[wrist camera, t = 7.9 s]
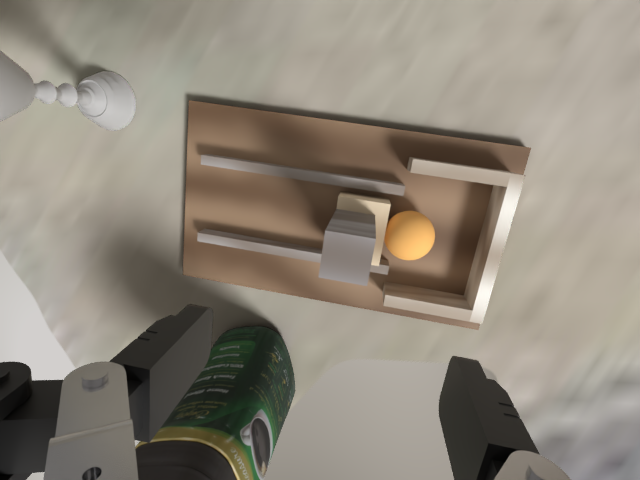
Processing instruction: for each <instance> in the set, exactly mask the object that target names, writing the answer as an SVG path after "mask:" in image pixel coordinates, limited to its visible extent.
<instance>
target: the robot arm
mask: <svg viewBox="0 0 640 480" xmlns="http://www.w3.org/2000/svg"><path fill="white" fill-rule="evenodd" d="M212 323H213V311H212V309H211V308H208V307H203V306H197V305H192V304H189V305H187V306H186V307H185V308H184V309H183V310H182V311H181V312H180V313H179V314H177V315H176V316H172V315H170V316H168V317H165V318H163V319H161V320H158V321H156V322H155V323H154V324H153V325H151V326H150V327H149V328H148V329H147V330H146V332H143V333H142V334H141V335H140V336H139V337H138V339H135V340H134V341H133V342H132V343H130V344H129V345H128V346H127V347H126V348H125V349H123V350H122V351H121V352H120V353H119V354H117V355H116V356H115V357H114V358H113V359H112V360H110V361H109V362H95V363H90V364H87V365H84V366H81V367H79V368H77V369H75V370H74V371H72V372H71V373H70V374H68V375H67V376H66V377H65V379H64V380H38V381H32V378H31V369H30V368H29V366H27V365H26V364H23V363H20V362H2V363H0V480H26V479H27V478H28V477H29V476H30V475H31V474H32V473H35V472H45V473H44V480H138V470H137V460H136V451H135V441H134V440H138V441H143V442H147V443H150V442H151V440H152V439H153V437H154V436H155V435H156V433H157V432H158V431H159V429H160V428H161V426H162V425H163V424H164V422H165V421H166V420H167V418H168V417H169V416H170V414H171V413H172V411H173V410H174V409H175V407H176V406H177V405H178V403H179V402H180V400H181V399H182V398H183V396H184V395H185V394H186V392H187V391H188V389H189V388H190V387H191V385H192V384H193V383H194V381H195V380H196V378H197V377H198V376H199V374H200V373H201V372H202V370H203V369H204V367H205V366H206V364H207V362H208V359H209V356H210V352H211V340H212ZM439 417H440V421H441V425H442V430H443V434H444V438H445V442H446V446H447V451H448V455H449V459H450V463H451V467H452V472H453V476H454V480H571V479H570V478H569V476H568V475H567V474H566V473H565V472H564V471H563V470H562V469H561V468H560V467H559V466H557V465H556V464H555V463H553V462H552V461H550V460H549V459H547V458H545V457H543V456H541V455H540V454H539V452H538V450H537V448H536V446H535V445H534V443H533V441H532V439H531V437H530V435H529V433H528V431H527V429H526V428H525V426H524V424H523V422H522V420H521V419H520V418H519V417H520V416H519V414H518V412H517V410H516V409H515V408H514V405H513V403H512V401H511V399H510V397H509V395H508V393H507V392H506V391H505V390H504V389H503V388H502V387H501V386H500V385H499V384H498V383H497V382H496V381H495V380H491V379H487V378H486V376H485V374H484V372H483V369H482V367H481V365H480V363H479V361H477V360H473V359H468V358H462V357H457V356H452V358H451V360H450V362H449V366H448V370H447V373H446V377H445V380H444V384H443V388H442V391H441V395H440V400H439Z"/></svg>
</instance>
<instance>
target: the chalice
mask: <svg viewBox="0 0 640 480" xmlns="http://www.w3.org/2000/svg"><path fill="white" fill-rule="evenodd" d="M34 97H35V98H37V99H39V100H40V101H42V102H43V103H45V104H50V103H53V102H54V101H55V100H58V101H59V102H60V104H62V105H63V106H65V107H72V106H74V105H75V104H76V103H77V105H78V108H79V109H80V111H81V112H82V114H83V115H84V116H85V117H87V118H88V119H90V120H91V121H93V122H94V123H96V124H97V125H99V126H100V127H102V128H104V129H106V130H114V131H116V130H119V129H123V128H124V127H126V126H127V125H128V124H129V123H130V122H131V120H132V119H133V117H134V114H135V110H136V100H135V96H134V93H133V90H132V88H131V87H130V85H129V83H128V82H127V81H126V80H125V79H124V78H123V77H122V76H120V75H118V74H116V73H114V72H110V71H102V72H99V73H96V74H94V75H91V76H89V77H86V78H84V79H83V80H82V81H81V82H80V83H79V85H78V87H77V89H76V90H75V88H74V87H73V86H72V85H70V84H68V83H63V84H61V85H60V86H59V87H58V88H57V87H55V86H54V85H53V84H52V83H51V82H49V81H41V82H40V83H37V84H34V83H33V80H32V78H31V77H30V75H29V74H28V73H27V72H26V71H25V70H24V69H23V68H21V67H20V66H19V65H18V64H16V63H15V62H14V61H13V60H11V59H10V58H9V57H8V56H7V55H5V54H4V53H3V52H2V51H0V121H3V120H5V119H7V118H9V117H11V116H12V115H14V114H16V113H18V112H20V111H22V110H24V109H25V108H27V107H28V106H29V105H31V103H32V102H33V100H34Z"/></svg>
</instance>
